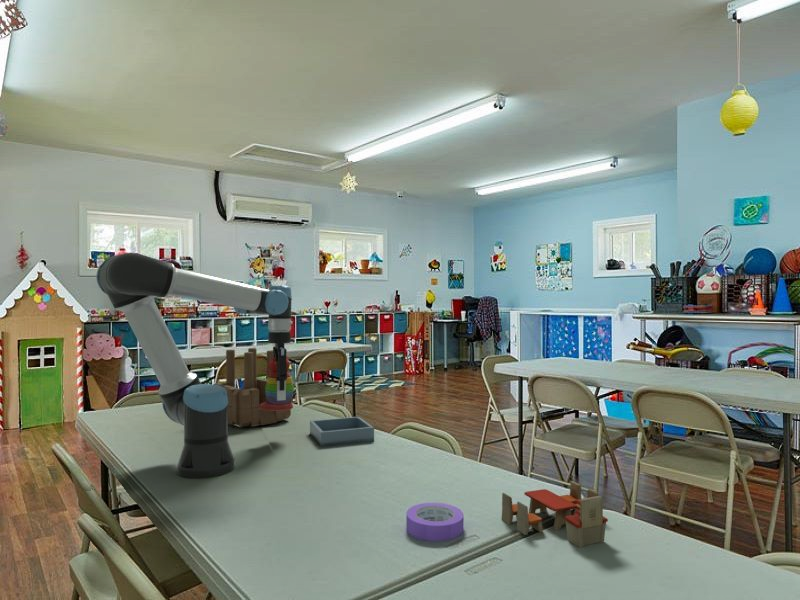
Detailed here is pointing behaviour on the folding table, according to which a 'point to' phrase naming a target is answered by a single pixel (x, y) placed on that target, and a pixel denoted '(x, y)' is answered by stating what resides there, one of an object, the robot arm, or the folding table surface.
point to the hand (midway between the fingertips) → (279, 397)
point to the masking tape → (434, 521)
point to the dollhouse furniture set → (561, 514)
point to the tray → (341, 431)
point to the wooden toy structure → (248, 393)
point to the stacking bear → (272, 390)
